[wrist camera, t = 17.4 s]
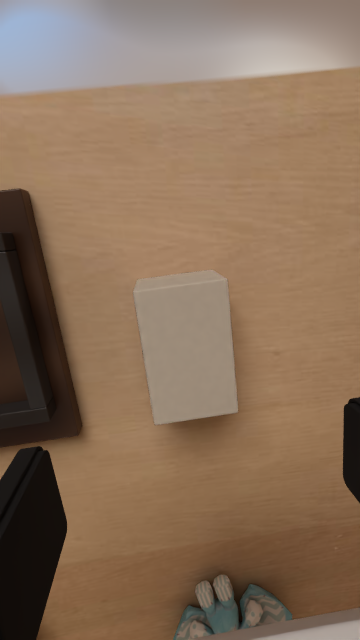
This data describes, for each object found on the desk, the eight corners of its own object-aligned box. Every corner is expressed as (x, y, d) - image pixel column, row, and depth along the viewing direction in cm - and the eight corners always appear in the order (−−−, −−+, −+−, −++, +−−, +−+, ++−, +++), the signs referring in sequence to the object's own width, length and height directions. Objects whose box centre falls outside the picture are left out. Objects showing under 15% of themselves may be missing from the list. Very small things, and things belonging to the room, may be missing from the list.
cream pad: (136, 279, 21) (132, 291, 17) (212, 269, 21) (228, 278, 17) (154, 390, 23) (154, 426, 19) (222, 379, 23) (238, 413, 19)
